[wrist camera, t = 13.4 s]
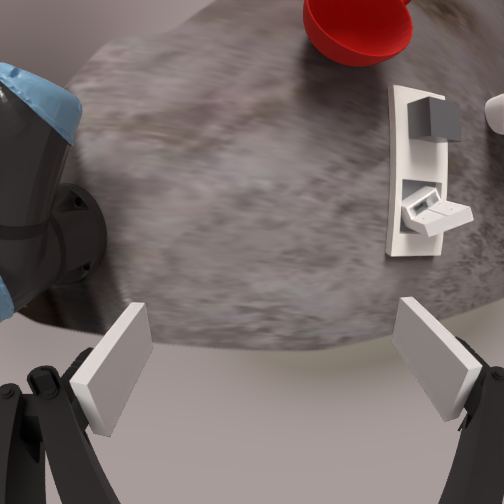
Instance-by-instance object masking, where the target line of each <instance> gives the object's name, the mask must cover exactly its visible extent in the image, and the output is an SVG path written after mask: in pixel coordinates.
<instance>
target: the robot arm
mask: <svg viewBox="0 0 504 504" xmlns="http://www.w3.org/2000/svg"><path fill="white" fill-rule="evenodd" d="M81 116H82V105H81V102H80V101H79V99H78V98H77V97H76V96H75V95H73V94H71V93H70V92H68V91H66V90H65V89H63V88H61V87H59V86H57V85H55V84H53V83H52V82H49V81H47V80H45V79H43V78H41V77H39V76H36V75H34V74H32V73H30V72H27V71H25V70H21V69H19V68H16V67H14V66H12V65H9V64H6V63H0V322H2V321H3V320H5V319H8V318H11V317H12V316H13V314H14V313H16V312H17V311H18V310H19V309H21V308H22V307H23V306H25V305H26V304H27V303H29V302H30V301H31V300H33V299H34V298H35V297H37V296H38V295H39V294H41V293H42V292H43V291H45V290H46V289H48V288H49V287H50V286H52V285H53V284H61V283H70V282H76V281H79V280H81V279H83V278H84V277H86V276H87V275H89V274H90V273H91V272H93V271H94V270H95V269H96V268H97V266H98V265H99V264H100V262H101V260H102V258H103V255H104V252H105V247H106V226H105V221H104V218H103V215H102V212H101V210H100V208H99V206H98V204H97V203H96V201H95V200H94V199H93V197H92V196H91V195H90V194H89V193H88V192H87V191H85V190H84V189H83V188H81V187H79V186H77V185H74V184H68V183H64V184H59V183H60V180H61V176H62V173H63V170H64V167H65V164H66V161H67V158H68V155H69V152H70V149H71V147H73V145H74V140H73V139H74V136H75V133H76V130H77V127H78V124H79V121H80V119H81ZM391 343H392V344H393V345H394V347H395V348H396V350H397V351H398V353H399V354H400V355H401V357H402V358H403V360H404V361H405V363H406V364H407V366H408V367H409V368H410V370H411V372H412V373H413V374H414V376H415V377H416V379H417V380H418V382H419V383H420V385H421V386H422V388H423V389H424V391H425V392H426V394H427V395H428V397H429V398H430V400H431V402H432V403H433V405H434V406H435V408H436V409H437V411H438V413H439V414H440V416H441V417H442V419H443V420H444V422H447V421H450V420H453V419H456V418H458V417H459V415H460V413H461V411H462V409H463V408H465V409H466V411H467V412H468V413H467V414H466V416H465V418H464V420H463V422H462V424H461V425H460V427H459V429H458V431H460V430H461V428H462V431H461V435H460V439H459V443H458V447H457V450H456V454H455V457H454V461H453V464H452V467H451V470H450V473H449V476H448V479H447V482H446V485H445V488H444V490H443V493H442V496H441V498H440V501H439V503H438V504H502V501H503V496H504V368H502V367H497V366H494V367H490V366H489V365H488V364H487V363H486V362H485V361H484V360H483V359H482V358H481V357H480V356H479V355H478V354H477V353H475V351H474V350H473V349H472V348H470V346H469V345H468V344H467V343H466V342H465V341H463V340H462V339H460V338H458V337H454V336H453V335H452V334H451V333H450V332H449V331H448V330H447V329H446V328H445V327H443V325H441V324H440V323H439V322H438V321H437V320H436V319H435V318H434V317H433V316H432V315H431V314H430V313H429V312H428V311H427V310H426V309H425V308H424V307H423V306H421V305H420V304H419V303H418V302H417V301H416V300H415V299H414V298H413V297H402V298H400V301H399V306H398V312H397V317H396V322H395V327H394V332H393V336H392V341H391ZM152 350H153V344H152V339H151V334H150V328H149V323H148V317H147V311H146V305H145V303H133V302H132V303H131V304H130V305H129V306H128V307H127V309H126V310H125V311H124V312H123V313H122V315H121V316H120V317H119V318H118V320H117V321H116V322H115V323H114V324H113V326H112V327H111V328H110V329H109V331H108V332H107V333H106V334H105V336H104V337H103V338H102V339H101V341H100V342H99V343H98V345H97V346H96V347H95V348H90V347H89V348H88V349H86V350H84V351H83V352H81V353H80V355H79V356H78V357H77V358H76V360H75V361H74V362H73V363H72V364H71V367H69V368H68V369H67V370H66V372H65V373H64V374H63V376H62V377H61V378H60V376H59V374H58V372H57V370H56V369H55V368H54V367H52V366H47V365H46V366H40V367H37V368H35V369H33V370H32V371H31V372H30V373H29V374H28V376H27V382H28V384H29V386H30V388H31V390H32V392H33V394H22V392H21V390H20V388H19V386H18V385H16V384H13V383H9V384H5V385H2V386H1V387H0V504H46V492H45V450H46V454H47V458H48V461H49V465H50V468H51V472H52V475H53V478H54V481H55V485H56V488H57V490H58V493H59V496H60V499H61V502H62V504H121V503H120V502H119V500H118V498H117V496H116V495H115V493H114V491H113V489H112V487H111V486H110V483H109V482H108V479H107V478H106V475H105V473H104V472H103V469H102V467H101V465H100V463H99V461H98V459H97V456H96V454H95V452H94V450H93V447H92V445H91V443H90V440H89V438H88V435H87V433H86V432H85V429H86V428H87V426H88V424H89V426H90V427H91V429H92V431H93V433H94V434H99V435H103V436H107V437H110V436H111V434H112V432H113V430H114V428H115V426H116V423H117V421H118V419H119V417H120V415H121V413H122V411H123V409H124V407H125V404H126V402H127V400H128V398H129V396H130V394H131V392H132V390H133V388H134V386H135V384H136V382H137V380H138V378H139V376H140V374H141V372H142V370H143V368H144V366H145V364H146V362H147V360H148V358H149V356H150V354H151V352H152Z"/></svg>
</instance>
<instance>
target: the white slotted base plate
mask: <svg viewBox="0 0 504 504" xmlns="http://www.w3.org/2000/svg"><path fill="white" fill-rule="evenodd" d="M388 102H389V121H390V195H389V214H388V229H387V241H386V252H385V253H387V254H388V255H390V256H429V255H441V248H442V240H443V232H441V233H439V234H436V235H433V236H430V237H428V236H425V235H423V234H421V233H419V232H417V231H415V230H412V229H410V228H408V227H406V226H405V224H404V221H403V219H402V217H401V202H402V200H404V199H406V198H407V197H409V196H410V195H412V194H413V193H415V192H416V191H418V190H420V189H421V188H423V187H424V186H428V187H434V188H436V189H437V191H438V194H439V196H440V199H441V200H445V201H446V195H447V165H448V150H447V142H461V122H460V108H459V104H457V103H453V102H450V101H446V100H445V96H441V95H438V94H434V93H430V92H425V91H421V90H417V89H412V88H407V87H402V86H397V85H392V86H390V87H388ZM421 207H423V204H422V203H421V204H419V205H418V206H416V207H415V208H414V209H415V211H417V210H418V209H420V208H421Z"/></svg>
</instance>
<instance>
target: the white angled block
mask: <svg viewBox="0 0 504 504" xmlns="http://www.w3.org/2000/svg"><path fill="white" fill-rule="evenodd" d="M421 203H422V204H423V207H421V208H420V209H418V210H417V211H415V209H414V208H415V207H416V206H418V205H419V204H421ZM401 217H402V219H403V221H404V224H405V226H406V227H408V228H410V229H412V230H415V231H417V232H419V233H421V234H423V235H425V236H428V237H430V236H433V235H436V234H439V233H441V232H444V231H447V230H449V229H452V228H455V227H457V226H460V225H462V224H465V223H468V222H470V221H473V220H474V219H473V215H472V212H471V209H470V207H468V206H464V205H460V204H457V203H453V202H449V201H445V200H441V199H440V196H439V194H438V191H437V189H436V188H434V187H428V186H424V187H423V188H421V189H420V190H418V191H416V192H415V193H413V194H412V195H410V196H409V197H407V198H406V199H404V200H402V202H401Z"/></svg>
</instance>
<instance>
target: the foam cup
mask: <svg viewBox="0 0 504 504" xmlns="http://www.w3.org/2000/svg"><path fill="white" fill-rule="evenodd" d="M485 116H486V120H487V122H488V124H489V126H490V128H491V129H492V130H493V131H494V132H496V133H498V134H502V135H504V94H501V95H499V96H496V97H494V98H491V99H489V100H488V101H487V103H486V105H485Z"/></svg>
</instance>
